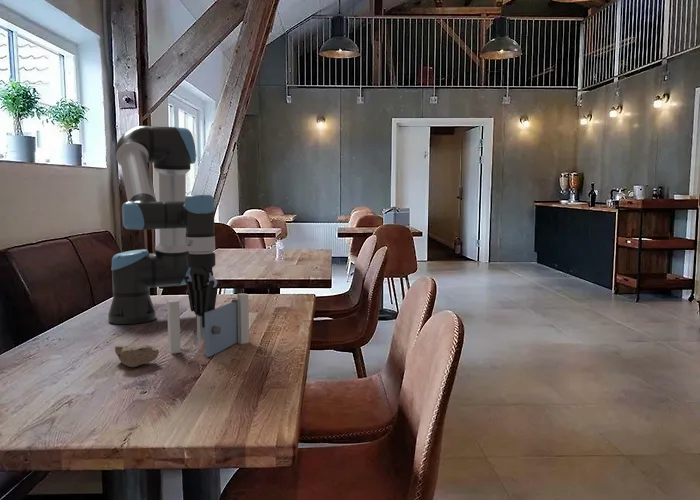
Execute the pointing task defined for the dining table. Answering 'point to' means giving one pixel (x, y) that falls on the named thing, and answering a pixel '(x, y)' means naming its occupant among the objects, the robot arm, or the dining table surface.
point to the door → (221, 328)
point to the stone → (136, 354)
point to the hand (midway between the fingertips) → (203, 338)
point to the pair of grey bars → (175, 322)
